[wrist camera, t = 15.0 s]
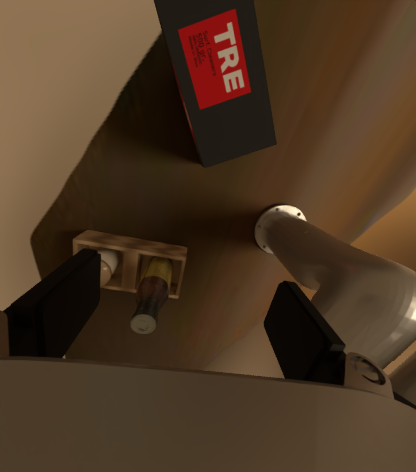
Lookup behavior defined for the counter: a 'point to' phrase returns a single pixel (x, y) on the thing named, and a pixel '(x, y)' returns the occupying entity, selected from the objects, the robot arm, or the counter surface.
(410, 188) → the counter surface
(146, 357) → the counter surface
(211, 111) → the cleaning product box
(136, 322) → the sauce bottle
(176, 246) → the caddy
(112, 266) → the jar
